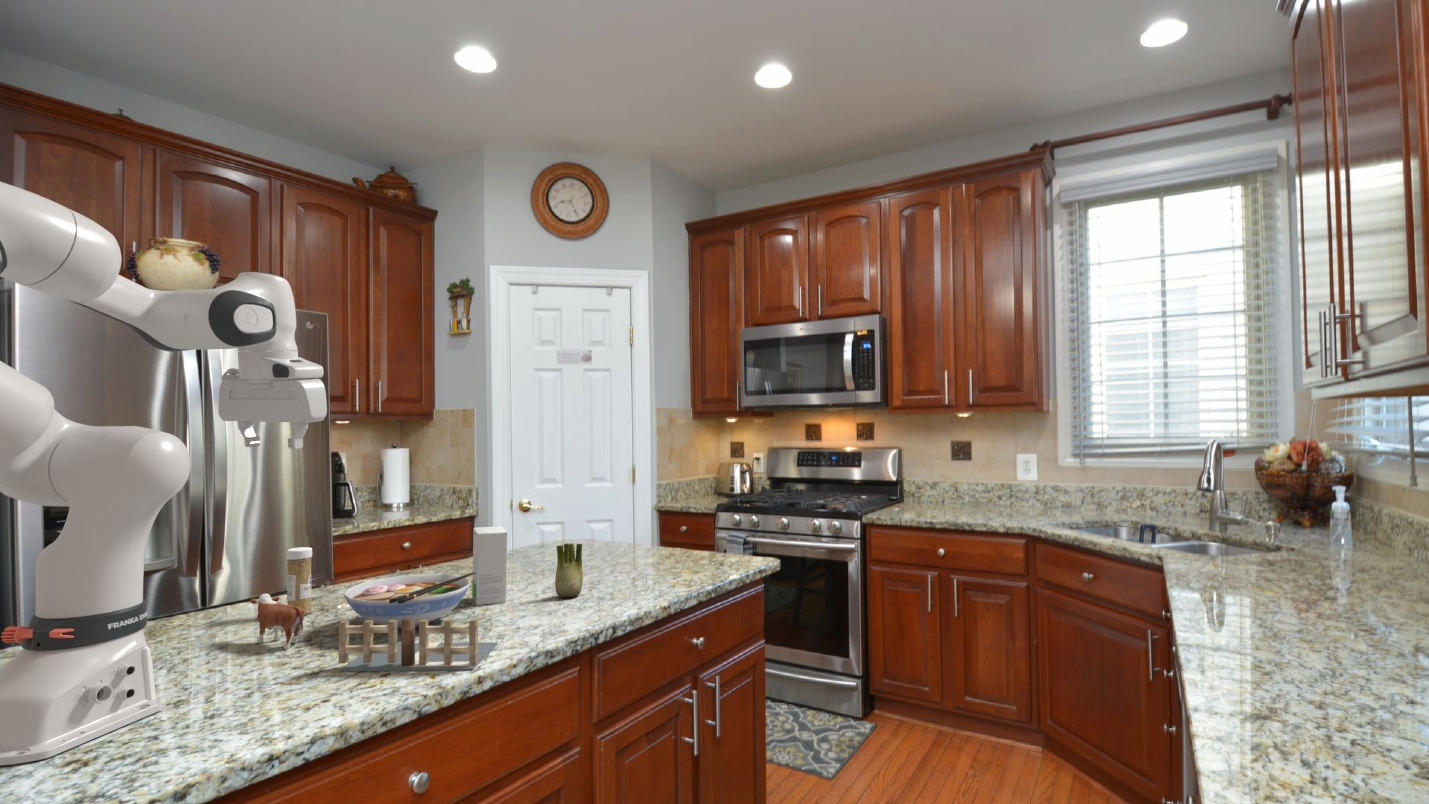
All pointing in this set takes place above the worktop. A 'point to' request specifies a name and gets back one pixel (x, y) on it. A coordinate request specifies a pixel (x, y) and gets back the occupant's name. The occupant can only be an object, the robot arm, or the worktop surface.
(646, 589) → the worktop surface
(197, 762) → the worktop surface
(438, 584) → the ramen bowl
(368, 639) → the gate panel
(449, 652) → the fixed fence panel
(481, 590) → the skincare box
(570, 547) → the fennel bulb
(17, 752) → the robot arm
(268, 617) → the bull figurine
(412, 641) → the corner post
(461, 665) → the card
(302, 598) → the spice jar
